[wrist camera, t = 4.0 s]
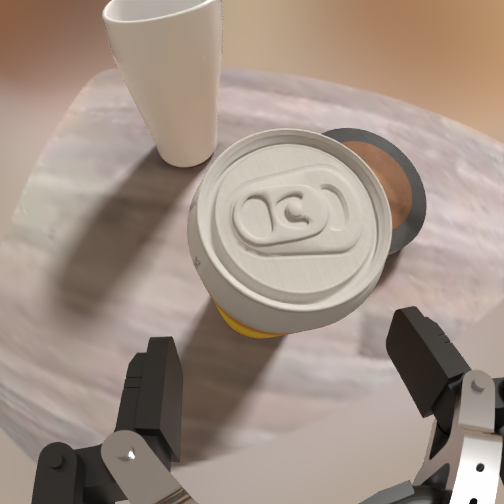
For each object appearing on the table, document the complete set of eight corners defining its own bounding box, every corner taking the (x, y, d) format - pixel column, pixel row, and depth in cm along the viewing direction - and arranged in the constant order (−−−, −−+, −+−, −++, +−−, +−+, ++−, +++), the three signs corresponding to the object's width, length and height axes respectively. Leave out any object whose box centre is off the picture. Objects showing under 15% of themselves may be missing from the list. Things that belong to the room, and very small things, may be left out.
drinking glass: (233, 122, 27) (234, -25, 12) (216, 183, 25) (201, 21, 10) (165, 115, 27) (132, -20, 12) (141, 172, 25) (77, 31, 10)
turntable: (394, 144, 26) (403, 131, 24) (428, 254, 23) (441, 246, 21) (283, 141, 25) (286, 126, 23) (305, 267, 22) (311, 259, 20)
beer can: (308, 329, 22) (429, 297, 7) (225, 345, 21) (199, 351, 7) (291, 250, 23) (363, 115, 9) (211, 263, 23) (172, 132, 8)
